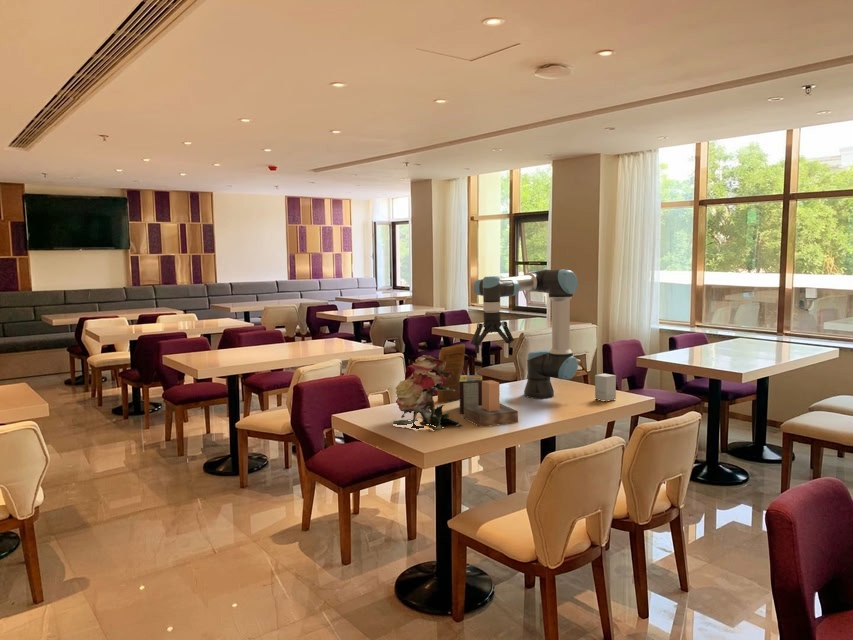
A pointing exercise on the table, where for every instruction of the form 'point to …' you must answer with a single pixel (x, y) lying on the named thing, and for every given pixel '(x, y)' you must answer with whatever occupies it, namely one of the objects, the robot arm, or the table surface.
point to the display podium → (490, 415)
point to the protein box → (470, 391)
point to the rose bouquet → (424, 392)
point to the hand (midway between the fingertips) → (492, 359)
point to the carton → (490, 395)
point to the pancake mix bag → (453, 364)
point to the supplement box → (605, 387)
